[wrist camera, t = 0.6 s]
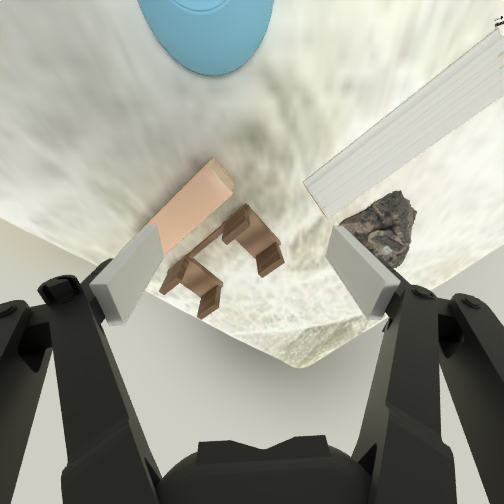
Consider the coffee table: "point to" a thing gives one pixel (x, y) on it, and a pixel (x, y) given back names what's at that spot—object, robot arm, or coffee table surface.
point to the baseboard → (413, 125)
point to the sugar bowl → (209, 31)
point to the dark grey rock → (385, 228)
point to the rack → (236, 227)
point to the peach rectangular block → (192, 204)
